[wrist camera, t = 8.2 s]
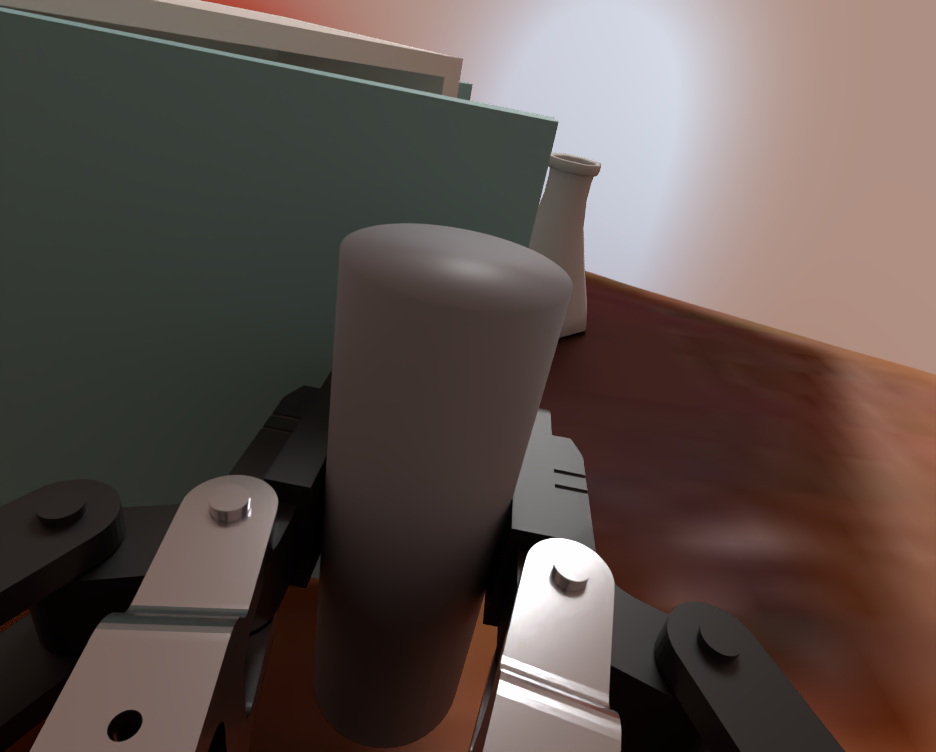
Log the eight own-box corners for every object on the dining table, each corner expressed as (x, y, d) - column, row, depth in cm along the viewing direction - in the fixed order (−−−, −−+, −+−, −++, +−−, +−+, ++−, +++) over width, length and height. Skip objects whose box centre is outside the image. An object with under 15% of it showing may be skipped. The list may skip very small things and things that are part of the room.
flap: (435, 817, 12) (636, 189, 5) (-254, 740, 11) (-1040, -132, 4) (450, 574, 17) (559, 118, 11) (-7, 509, 16) (-193, -32, 10)
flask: (602, 318, 39) (650, 170, 34) (564, 352, 33) (616, 180, 28) (511, 284, 42) (543, 142, 37) (461, 310, 36) (492, 146, 31)
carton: (423, 411, 25) (481, 62, 18) (9, 511, 17) (-176, -63, 10) (294, 275, 36) (299, 20, 29) (-1, 295, 27) (-96, -58, 20)
